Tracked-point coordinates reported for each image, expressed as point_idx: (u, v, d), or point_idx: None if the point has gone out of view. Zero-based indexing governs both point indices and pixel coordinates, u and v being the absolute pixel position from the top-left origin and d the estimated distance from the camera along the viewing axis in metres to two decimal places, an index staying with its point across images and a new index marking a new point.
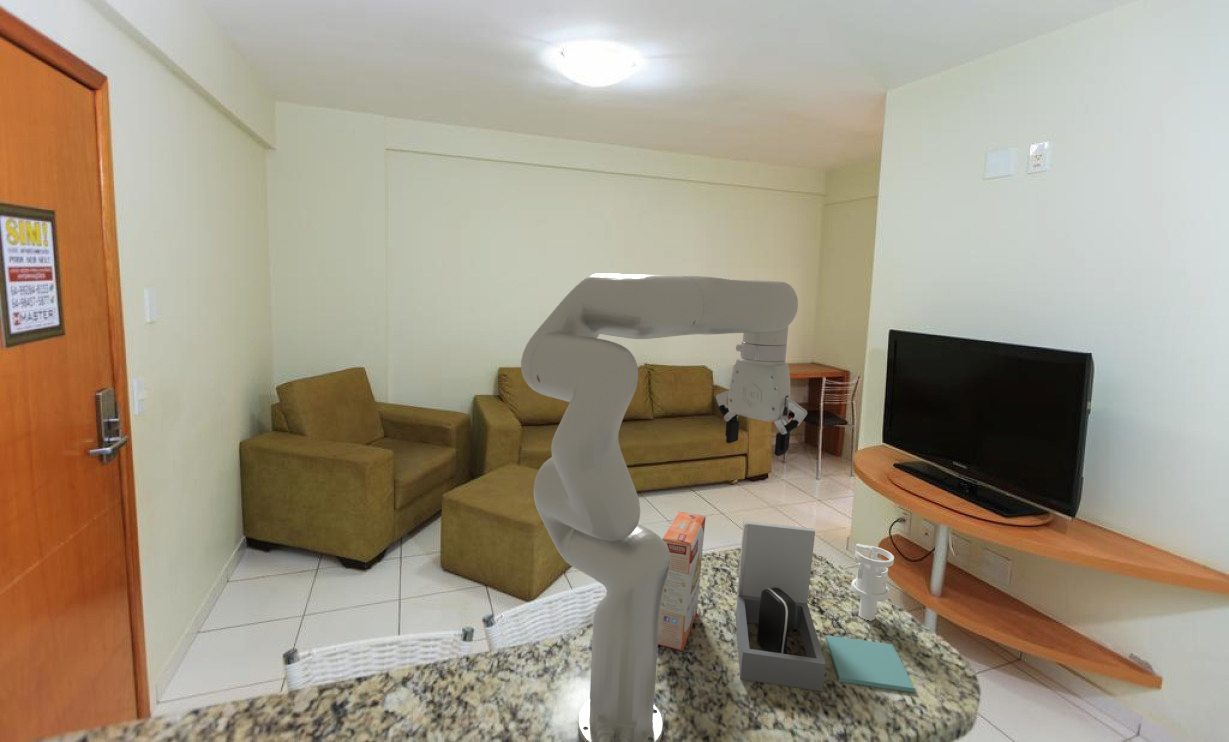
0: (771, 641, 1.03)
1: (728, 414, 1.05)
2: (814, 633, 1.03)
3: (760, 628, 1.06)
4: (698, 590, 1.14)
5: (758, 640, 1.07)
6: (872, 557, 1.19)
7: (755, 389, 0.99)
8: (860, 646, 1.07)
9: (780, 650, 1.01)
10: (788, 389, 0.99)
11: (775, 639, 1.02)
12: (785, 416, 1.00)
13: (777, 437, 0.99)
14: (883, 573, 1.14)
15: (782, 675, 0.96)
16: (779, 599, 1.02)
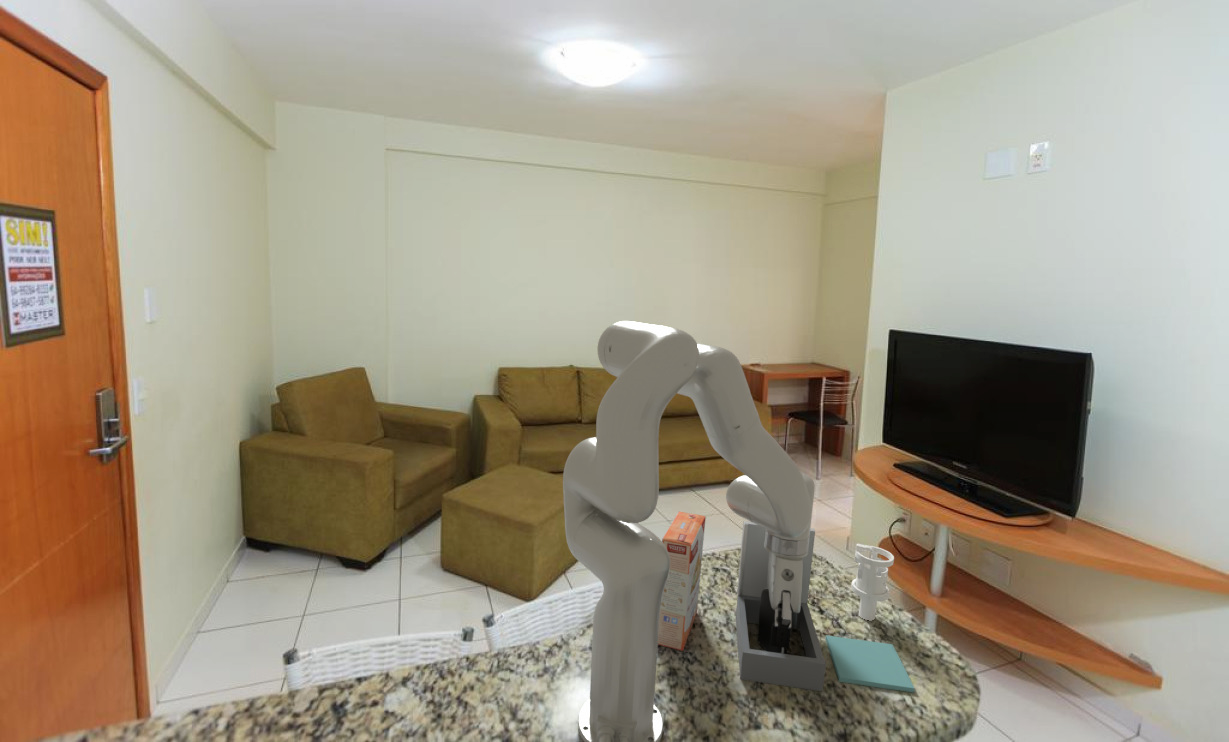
0: None
1: None
2: (814, 633, 1.03)
3: (760, 628, 1.06)
4: (698, 590, 1.14)
5: (758, 640, 1.07)
6: (872, 557, 1.19)
7: None
8: (860, 646, 1.07)
9: (780, 650, 1.02)
10: None
11: None
12: None
13: None
14: (883, 573, 1.14)
15: (782, 675, 0.96)
16: None
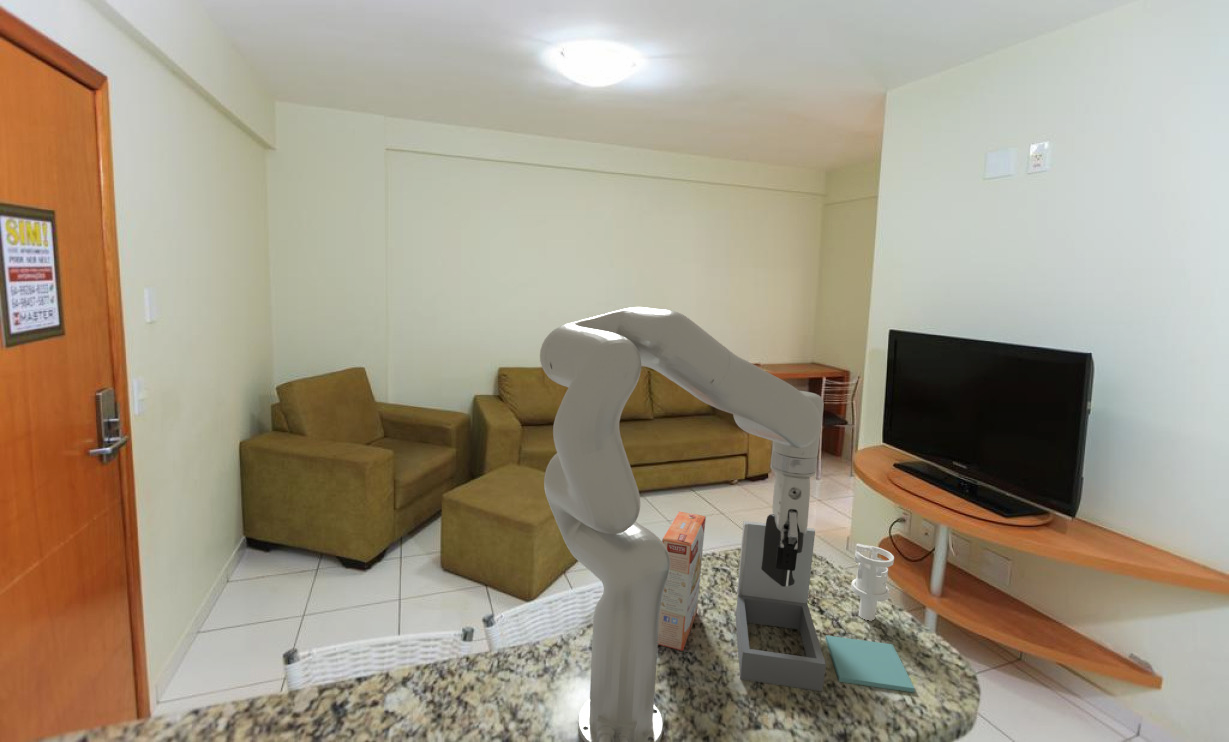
0: None
1: (797, 541, 0.97)
2: (814, 633, 1.03)
3: (765, 555, 1.04)
4: (698, 590, 1.14)
5: (762, 568, 1.04)
6: (872, 557, 1.19)
7: None
8: (860, 646, 1.07)
9: (786, 574, 0.99)
10: None
11: None
12: None
13: None
14: (883, 573, 1.14)
15: (782, 675, 0.96)
16: None
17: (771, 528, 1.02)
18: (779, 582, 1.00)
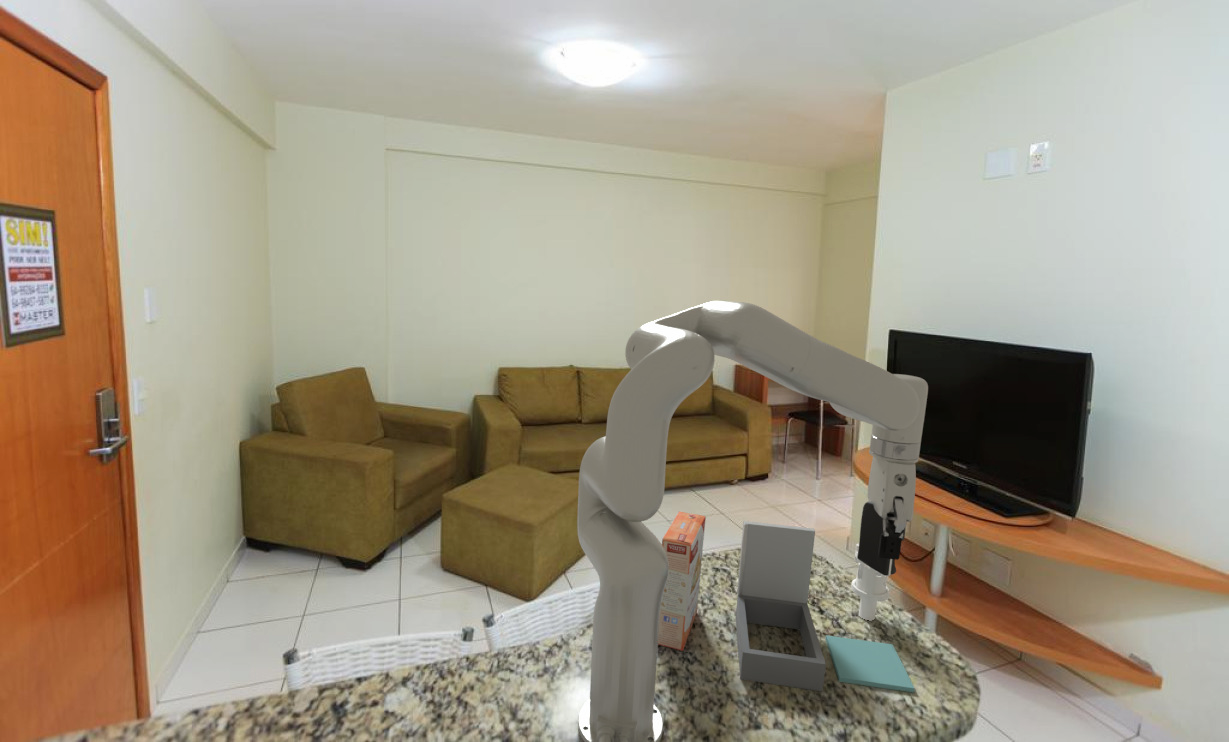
0: (877, 554, 0.98)
1: None
2: (814, 633, 1.03)
3: (862, 543, 1.01)
4: (698, 590, 1.14)
5: (859, 557, 1.02)
6: None
7: None
8: (860, 646, 1.07)
9: (888, 562, 0.96)
10: None
11: None
12: None
13: None
14: None
15: (782, 675, 0.96)
16: None
17: (869, 516, 0.99)
18: (881, 571, 0.97)
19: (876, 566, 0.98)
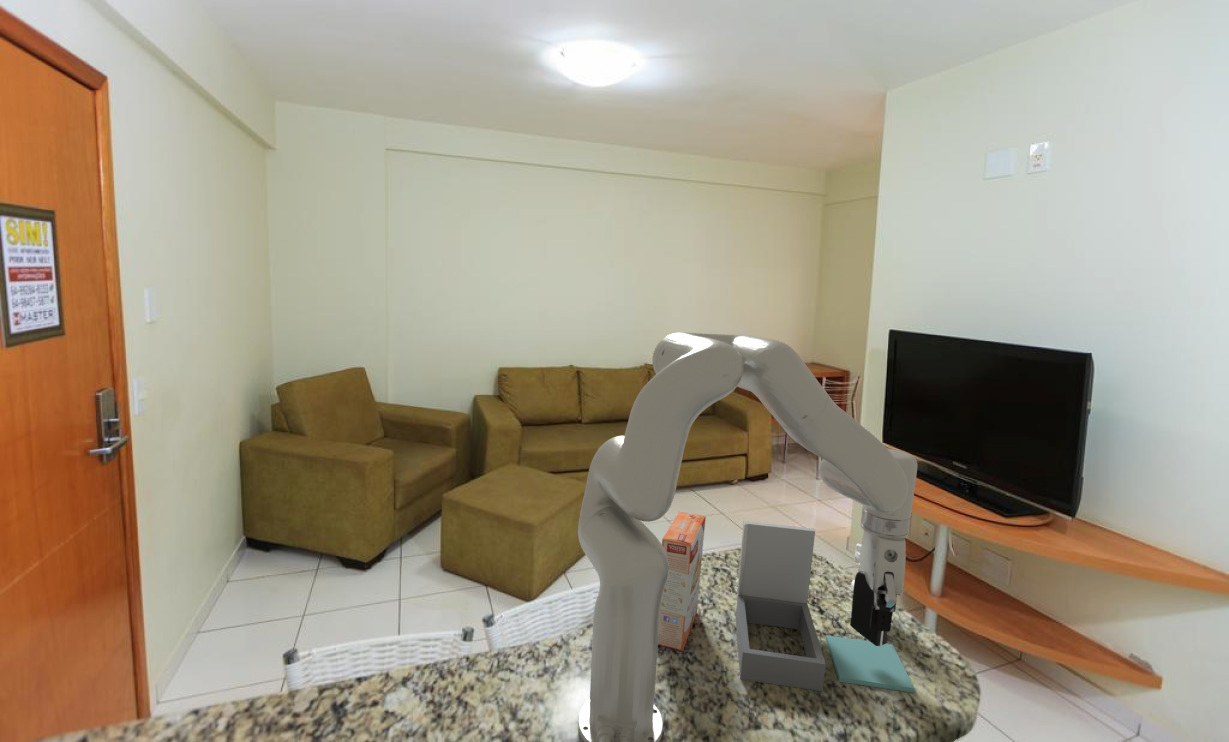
0: (869, 624, 1.00)
1: None
2: (814, 633, 1.03)
3: (854, 612, 1.03)
4: (698, 590, 1.14)
5: (851, 624, 1.04)
6: None
7: None
8: (860, 646, 1.07)
9: (880, 633, 0.98)
10: None
11: None
12: None
13: None
14: None
15: (782, 675, 0.96)
16: None
17: (861, 586, 1.01)
18: (872, 641, 0.99)
19: (868, 636, 1.00)
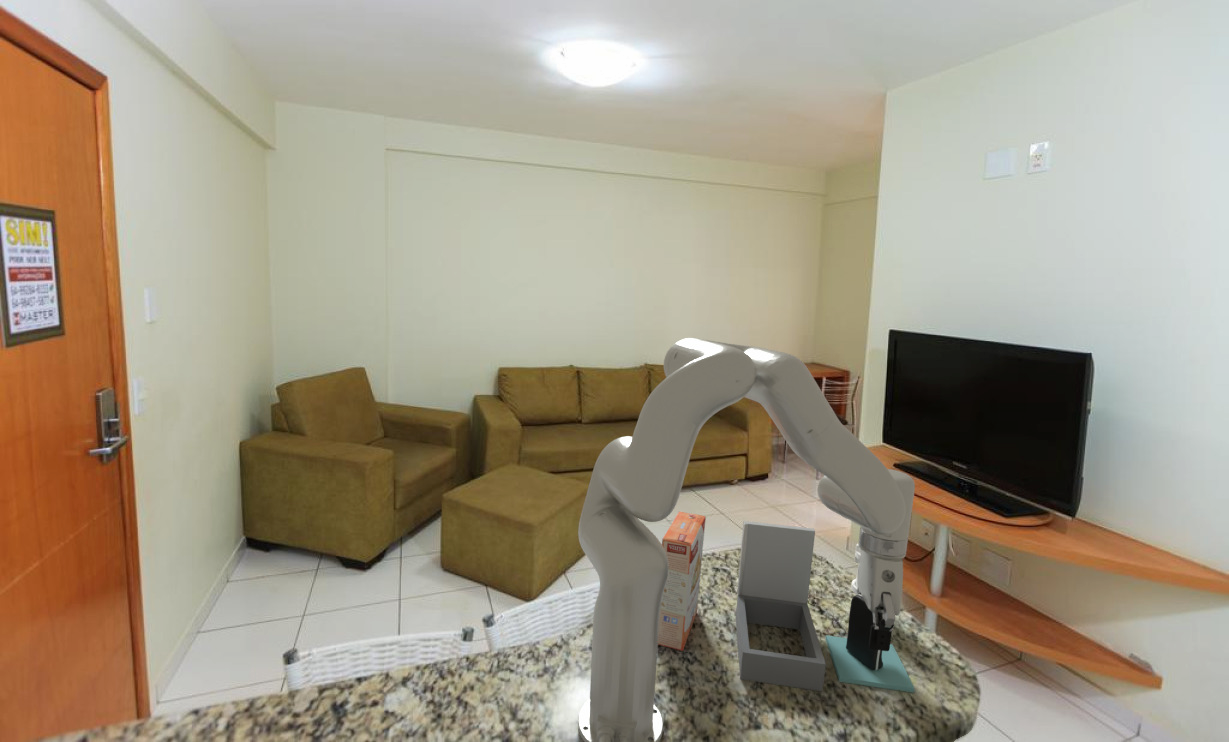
0: (865, 649, 1.01)
1: None
2: (814, 633, 1.03)
3: (850, 635, 1.04)
4: (698, 590, 1.14)
5: (847, 647, 1.05)
6: None
7: None
8: None
9: (875, 658, 0.99)
10: None
11: None
12: None
13: None
14: None
15: (782, 675, 0.96)
16: None
17: (858, 610, 1.02)
18: (868, 665, 1.00)
19: (864, 660, 1.01)
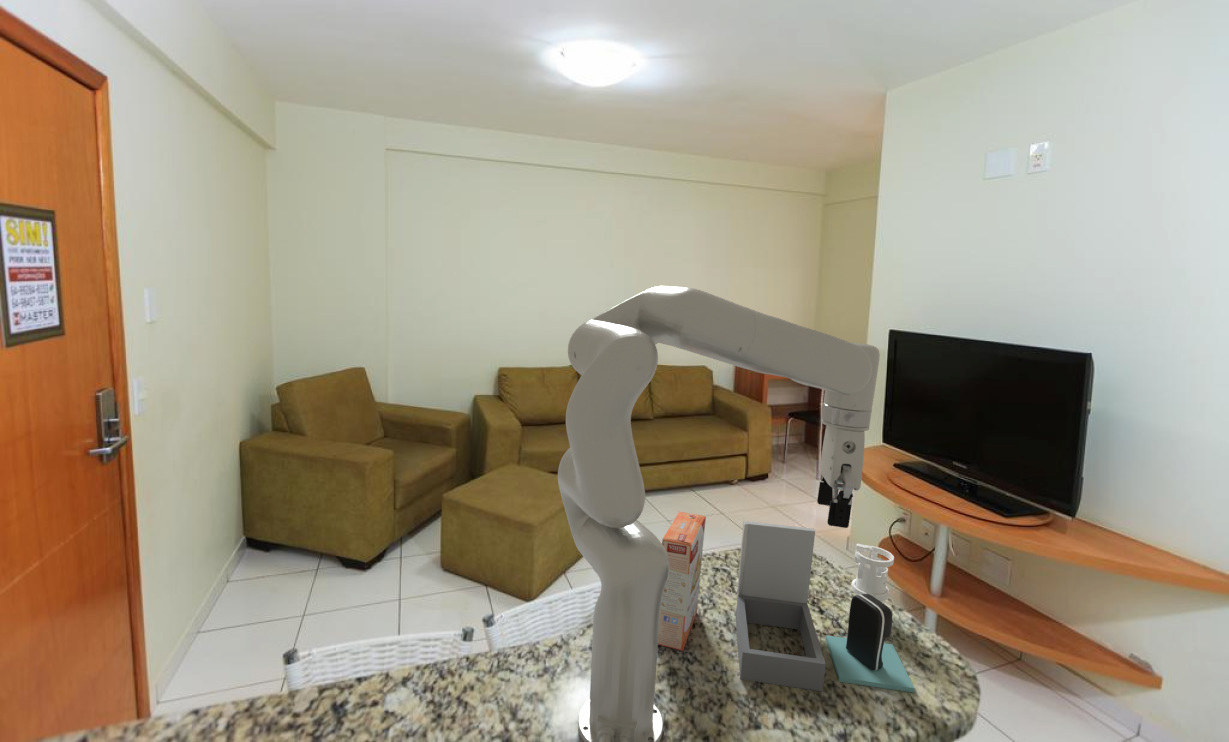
0: (864, 649, 1.01)
1: None
2: (814, 633, 1.03)
3: (850, 635, 1.04)
4: (698, 590, 1.14)
5: (847, 647, 1.05)
6: (872, 557, 1.19)
7: None
8: None
9: (875, 658, 0.99)
10: None
11: (869, 647, 1.00)
12: None
13: None
14: (883, 573, 1.14)
15: (782, 675, 0.96)
16: (874, 606, 1.00)
17: (857, 610, 1.02)
18: (868, 665, 1.00)
19: (864, 660, 1.01)
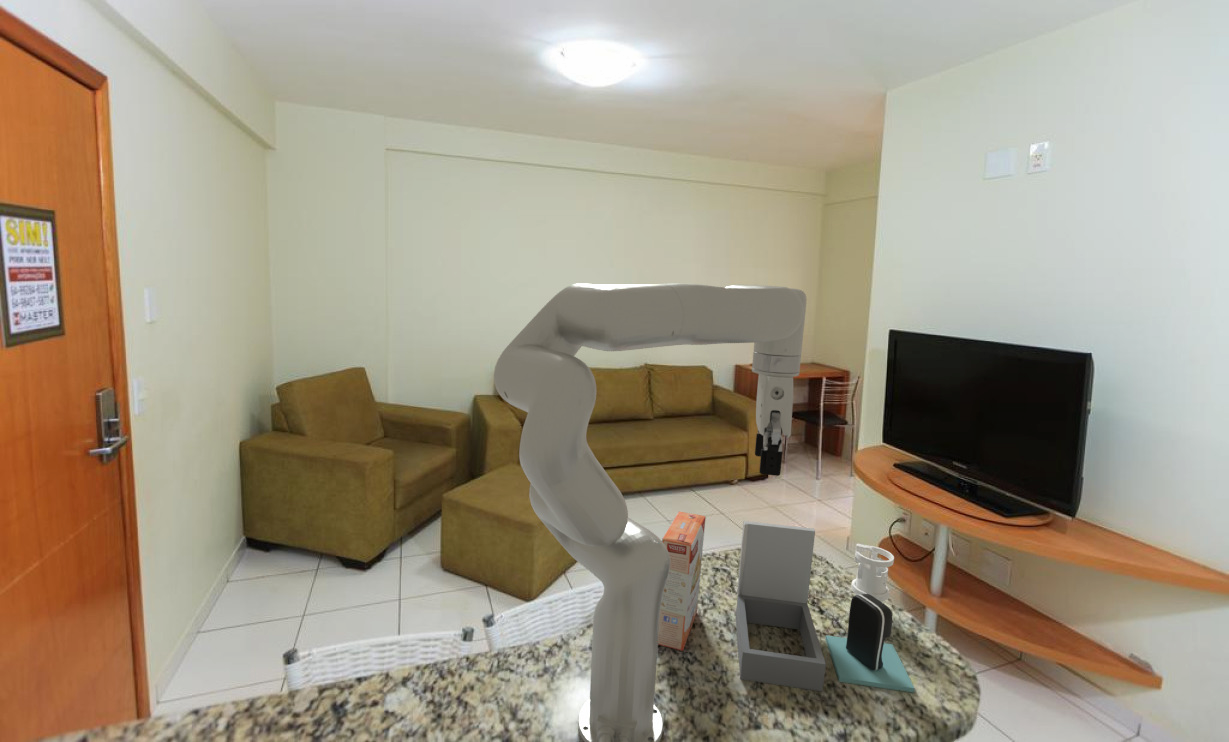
0: (864, 649, 1.01)
1: (781, 443, 0.90)
2: (814, 633, 1.03)
3: (850, 635, 1.04)
4: (698, 590, 1.14)
5: (847, 647, 1.05)
6: (872, 557, 1.19)
7: None
8: None
9: (875, 658, 0.99)
10: None
11: (869, 647, 1.00)
12: None
13: None
14: (883, 573, 1.14)
15: (782, 675, 0.96)
16: (874, 606, 1.00)
17: (857, 610, 1.02)
18: (868, 665, 1.00)
19: (864, 660, 1.01)
